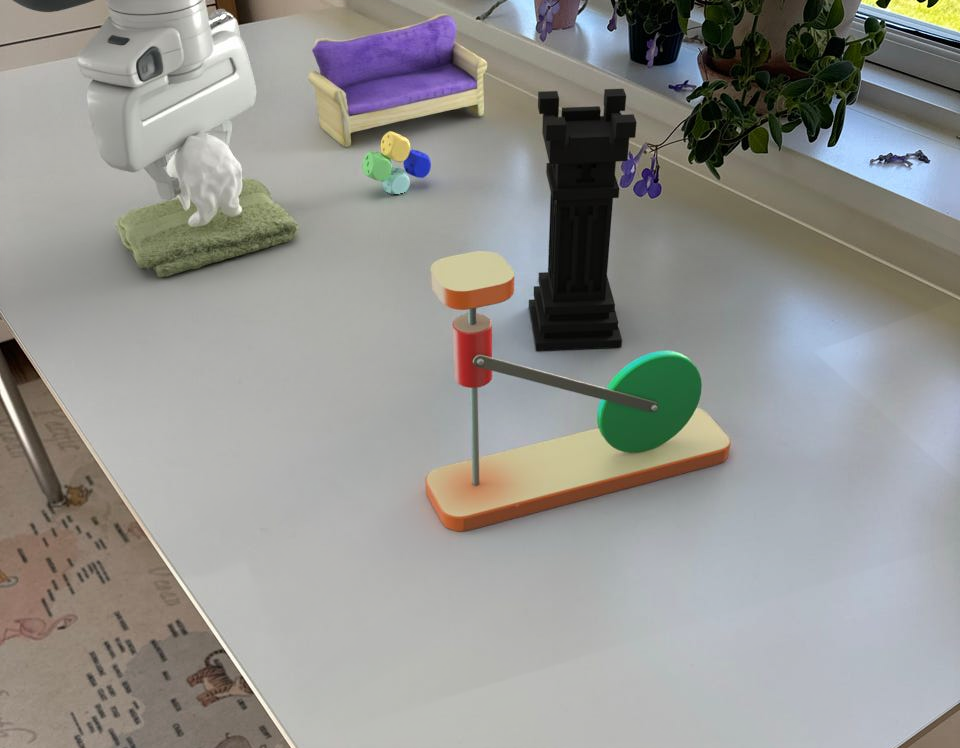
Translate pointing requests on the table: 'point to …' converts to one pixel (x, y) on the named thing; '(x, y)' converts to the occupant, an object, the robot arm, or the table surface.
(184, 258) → the washcloth
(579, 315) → the chess piece
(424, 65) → the toy sofa
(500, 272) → the crank mechanism
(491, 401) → the table surface
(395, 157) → the dice
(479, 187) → the table surface
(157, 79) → the robot arm
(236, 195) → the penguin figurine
